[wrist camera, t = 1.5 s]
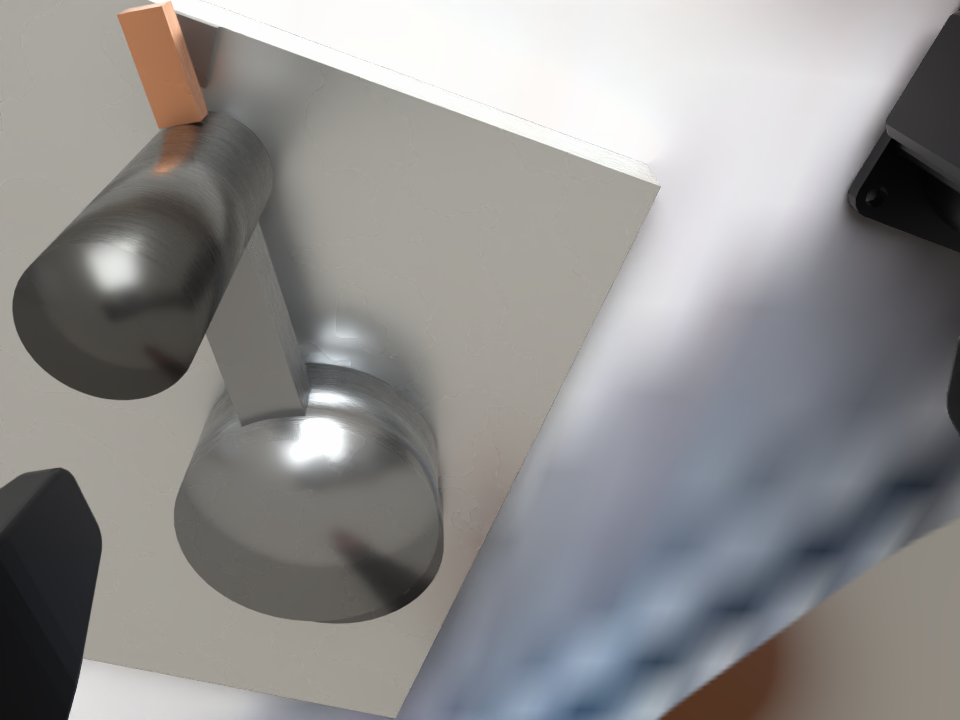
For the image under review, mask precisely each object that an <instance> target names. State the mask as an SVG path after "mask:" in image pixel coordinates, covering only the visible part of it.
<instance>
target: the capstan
mask: <svg viewBox="0 0 960 720" xmlns="http://www.w3.org/2000/svg"><path fill="white" fill-rule="evenodd" d="M117 17H118V19H119V22H120V25H121V28H122V30H123V33H124V36H125V39H126V41H127V44H128V47H129V49H130V52H131V55H132V58H133V60H134V63H135V66H136V68H137V71H138V74H139V77H140V79H141V82H142V85H143V87H144V90H145V93H146V96H147V98H148V101H149V104H150V106H151V109H152V112H153V115H154V117H155V120H156V123H157V125H158V128H159V129H161V128H162V129H161V130H160V131H159V132H158V133H157V134H156V135H155V136H154V137H153V138H152V139H151V140H150V141H149V142H148V144H147V145H146V146H145V147H144V148H143V149H142V150H141V151H140V152H139V153H138V154H137V155H136V156H135V157H134V158H133V159H132V160H131V161H130V162H129V163H128V164H127V165H126V166H125V167H124V168H123V169H122V170H121V171H120V173H119V174H118V175H117V176H116V177H115V178H114V179H113V180H112V181H111V182H110V183H109V184H108V185H107V186H106V187H105V188H104V189H103V190H102V191H101V192H100V193H99V194H98V195H97V196H96V197H95V198H94V199H93V200H92V201H91V203H90V204H89V205H88V206H87V207H86V208H85V209H84V210H83V211H82V212H81V213H80V214H79V215H78V216H77V217H76V218H75V219H74V220H73V221H72V222H71V223H70V224H69V225H68V226H67V227H66V228H65V229H64V230H63V231H62V233H61V234H60V235H59V236H58V237H57V238H56V239H55V240H54V241H53V242H52V243H51V244H50V245H49V246H48V247H47V248H46V249H45V250H44V251H43V252H42V253H41V254H40V255H39V256H38V257H37V258H36V259H35V260H34V261H33V263H32V264H31V265H30V266H29V267H28V268H27V269H26V270H25V271H24V273H23V274H22V276H21V277H20V279H19V281H18V283H17V285H16V288H15V291H14V296H13V301H12V313H13V320H14V324H15V327H16V331H17V333H18V336H19V338H20V340H21V342H22V344H23V345H24V347H25V349H26V350H27V352H28V353H29V354H30V356H31V357H32V358H33V359H34V361H35V362H36V363H37V364H38V365H39V366H40V367H41V368H42V369H43V370H45V371H46V372H47V373H48V374H49V375H51V376H52V377H54V378H55V379H56V380H58V381H59V382H61V383H63V384H65V385H66V386H68V387H70V388H72V389H74V390H77V391H79V392H82V393H84V394H87V395H91V396H94V397H99V398H103V399H111V400H135V399H142V398H146V397H150V396H153V395H156V394H158V393H161V392H163V391H164V390H166V389H168V388H170V387H171V386H172V385H174V384H175V383H177V382H178V381H179V380H180V379H181V378H182V377H183V376H184V374H185V373H186V371H187V370H188V369H189V367H190V365H191V363H192V361H193V359H194V357H195V355H196V353H197V351H198V348H199V346H200V344H201V342H202V340H203V338H204V336H205V334H206V336H207V339H208V342H209V344H210V347H211V349H212V352H213V354H214V357H215V360H216V362H217V365H218V367H219V370H220V372H221V375H222V378H223V380H224V383H225V385H226V388H227V390H228V392H227V393H226V394H225V395H224V396H223V397H222V398H221V399H220V400H219V402H218V403H217V404H216V406H215V407H214V408H213V409H212V411H211V413H210V415H209V417H208V418H207V420H206V423H205V425H204V428H203V430H202V433H201V435H200V438H199V440H198V443H197V445H196V448H195V450H194V453H193V455H192V458H191V460H190V463H189V465H188V468H187V471H186V473H185V476H184V478H183V481H182V483H181V486H180V488H179V491H178V494H177V497H176V501H175V507H174V527H175V532H176V537H177V540H178V543H179V545H180V548H181V550H182V552H183V554H184V556H185V557H186V559H187V561H188V563H189V564H190V565H191V566H192V568H193V569H194V570H195V572H196V573H197V574H198V575H199V576H200V577H201V578H202V579H203V580H204V581H205V582H206V583H207V584H208V585H210V586H211V587H212V588H213V589H215V590H216V591H217V592H219V593H220V594H222V595H223V596H225V597H227V598H228V599H230V600H231V601H233V602H235V603H237V604H240V605H242V606H244V607H246V608H248V609H251V610H254V611H257V612H259V613H262V614H266V615H270V616H274V617H278V618H284V619H290V620H299V621H313V622H319V623H331V624H342V623H355V622H362V621H367V620H372V619H376V618H379V617H382V616H386V615H388V614H390V613H393V612H395V611H397V610H399V609H401V608H403V607H404V606H406V605H408V604H409V603H411V602H412V601H413V600H415V599H416V598H418V597H419V596H420V595H421V594H422V593H423V592H424V591H425V590H426V589H427V588H428V586H429V585H430V584H431V583H432V581H433V580H434V578H435V576H436V574H437V573H438V570H439V568H440V565H441V562H442V558H443V552H444V521H443V504H442V499H441V496H440V493H439V490H438V453H437V447H436V442H435V439H434V436H433V433H432V431H431V429H430V427H429V425H428V423H427V421H426V420H425V418H424V417H423V415H422V414H421V412H420V411H419V410H418V408H417V407H416V406H415V405H414V404H413V403H412V402H411V401H410V400H409V399H408V398H407V397H406V396H404V395H403V394H402V393H401V392H400V391H398V390H397V389H396V388H394V387H392V386H391V385H389V384H388V383H386V382H385V381H383V380H381V379H379V378H377V377H374V376H372V375H370V374H368V373H365V372H362V371H359V370H356V369H353V368H349V367H344V366H340V365H334V364H325V363H304V360H303V357H302V354H301V350H300V347H299V344H298V341H297V338H296V335H295V332H294V329H293V326H292V323H291V320H290V317H289V314H288V310H287V307H286V304H285V301H284V298H283V295H282V292H281V289H280V286H279V283H278V280H277V277H276V273H275V270H274V267H273V264H272V261H271V258H270V255H269V252H268V249H267V246H266V243H265V240H264V237H263V233H262V230H261V227H260V224H259V219H260V217H261V214H262V212H263V210H264V208H265V206H266V204H267V202H268V200H269V197H270V194H271V191H272V187H273V168H272V164H271V160H270V157H269V155H268V152H267V151H266V149H265V147H264V145H263V144H262V142H261V141H260V139H259V138H258V137H257V136H256V135H255V134H254V133H253V132H252V131H251V130H250V129H249V128H248V127H247V126H245V125H244V124H242V123H241V122H239V121H237V120H236V119H234V118H232V117H229V116H227V115H224V114H220V113H217V112H210V111H208V109H207V106H206V103H205V100H204V97H203V94H202V91H201V88H200V85H199V82H198V79H197V76H196V73H195V70H194V67H193V64H192V61H191V58H190V55H189V52H188V49H187V46H186V43H185V40H184V37H183V34H182V31H181V28H180V25H179V22H178V19H177V17H176V14H175V11H174V8H173V5H172V2H171V1H166V2H161V3H155V4H150V5H145V6H140V7H134V8H129V9H126V10H124V11H122V12H121V13H119V14H117Z"/></svg>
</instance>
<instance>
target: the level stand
mask: <svg viewBox="0 0 960 720" xmlns="http://www.w3.org/2000/svg"><path fill="white" fill-rule="evenodd" d="M166 1H171V2H172V5H173V8H174V11H175V14H176V17H177V19H178V22H179V25H180V28H181V31H182V34H183V37H184V40H185V43H186V46H187V49H188V52H189V55H190V58H191V61H192V64H193V67H194V70H195V73H196V76H197V79H198V82H199V85H200V88H201V91H202V94H203V97H204V100H205V103H206V106H207V109H208V111H210V112H217V113H220V114H224V115H227V116H229V117H232V118H234V119H236V120H237V121H239V122H241V123H242V124H244V125H245V126H247V127H248V128H249V129H250V130H251V131H252V132H253V133H254V134H255V135H256V136H257V137H258V138H259V139H260V141H261V142H262V144H263V145H264V147H265V149H266V151H267V152H268V155H269V157H270V160H271V164H272V168H273V187H272V191H271V194H270V197H269V200H268V202H267V204H266V206H265V208H264V210H263V212H262V214H261V217H260V219H259V224H260V227H261V230H262V233H263V237H264V240H265V243H266V246H267V249H268V252H269V255H270V258H271V261H272V264H273V267H274V270H275V273H276V277H277V280H278V283H279V286H280V289H281V292H282V295H283V298H284V301H285V304H286V307H287V310H288V314H289V317H290V320H291V323H292V326H293V329H294V332H295V335H296V338H297V341H298V344H299V347H300V350H301V354H302V357H303V360H304V363H325V364H334V365H340V366H344V367H349V368H353V369H356V370H359V371H362V372H365V373H368V374H370V375H372V376H374V377H377V378H379V379H381V380H383V381H385V382H386V383H388V384H389V385H391V386H392V387H394V388H396V389H397V390H398V391H400V392H401V393H402V394H403V395H404V396H406V397H407V398H408V399H409V400H410V401H411V402H412V403H413V404H414V405H415V406H416V407H417V408H418V410H419V411H420V412H421V414H422V415H423V417H424V418H425V420H426V421H427V423H428V425H429V427H430V429H431V431H432V433H433V436H434V439H435V442H436V447H437V453H438V490H439V493H440V496H441V499H442V504H443V521H444V552H443V558H442V562H441V565H440V568H439V570H438V573H437V574H436V576H435V578H434V580H433V581H432V583H431V584H430V585H429V586H428V588H427V589H426V590H425V591H424V592H423V593H422V594H421V595H420V596H419V597H418V598H416V599H415V600H413V601H412V602H411V603H409V604H408V605H406V606H404V607H403V608H401V609H399V610H397V611H395V612H393V613H390V614H388V615H386V616H382V617H379V618H376V619H372V620H367V621H362V622H355V623H342V624H331V623H319V622H313V621H299V620H290V619H284V618H278V617H274V616H270V615H266V614H262V613H259V612H257V611H254V610H251V609H248V608H246V607H244V606H242V605H240V604H237V603H235V602H233V601H231V600H230V599H228V598H227V597H225V596H223V595H222V594H220V593H219V592H217V591H216V590H215V589H213V588H212V587H211V586H210V585H208V584H207V583H206V582H205V581H204V580H203V579H202V578H201V577H200V576H199V575H198V574H197V573H196V572H195V570H194V569H193V568H192V566H191V565H190V564H189V563H188V561H187V559H186V557H185V556H184V554H183V552H182V550H181V548H180V545H179V543H178V540H177V537H176V532H175V527H174V507H175V501H176V497H177V494H178V491H179V488H180V486H181V483H182V481H183V478H184V476H185V473H186V471H187V468H188V465H189V463H190V460H191V458H192V455H193V453H194V450H195V448H196V445H197V443H198V440H199V438H200V435H201V433H202V430H203V428H204V425H205V423H206V420H207V418H208V417H209V415H210V413H211V411H212V409H213V408H214V407H215V406H216V404H217V403H218V402H219V400H220V399H221V398H222V397H223V396H224V395H225V394H226V393H227V392H228V390H227V388H226V385H225V383H224V380H223V378H222V375H221V372H220V370H219V367H218V365H217V362H216V360H215V357H214V354H213V352H212V349H211V347H210V344H209V342H208V339H207V336H206V334H205V336H204V338H203V340H202V342H201V344H200V346H199V348H198V351H197V353H196V355H195V357H194V359H193V361H192V363H191V365H190V367H189V369H188V370H187V371H186V373H185V374H184V376H183V377H182V378H181V379H180V380H179V381H178V382H177V383H175V384H174V385H172V386H171V387H170V388H168V389H166V390H164V391H163V392H161V393H158V394H156V395H153V396H150V397H146V398H142V399H135V400H111V399H103V398H99V397H94V396H91V395H87V394H84V393H82V392H79V391H77V390H74V389H72V388H70V387H68V386H66V385H65V384H63V383H61V382H59V381H58V380H56V379H55V378H54V377H52V376H51V375H49V374H48V373H47V372H46V371H45V370H43V369H42V368H41V367H40V366H39V365H38V364H37V363H36V362H35V361H34V359H33V358H32V357H31V356H30V354H29V353H28V352H27V350H26V349H25V347H24V345H23V344H22V342H21V340H20V338H19V336H18V333H17V331H16V327H15V324H14V320H13V313H12V301H13V296H14V291H15V288H16V285H17V283H18V281H19V279H20V277H21V276H22V274H23V273H24V271H25V270H26V269H27V268H28V267H29V266H30V265H31V264H32V263H33V261H34V260H35V259H36V258H37V257H38V256H39V255H40V254H41V253H42V252H43V251H44V250H45V249H46V248H47V247H48V246H49V245H50V244H51V243H52V242H53V241H54V240H55V239H56V238H57V237H58V236H59V235H60V234H61V233H62V231H63V230H64V229H65V228H66V227H67V226H68V225H69V224H70V223H71V222H72V221H73V220H74V219H75V218H76V217H77V216H78V215H79V214H80V213H81V212H82V211H83V210H84V209H85V208H86V207H87V206H88V205H89V204H90V203H91V201H92V200H93V199H94V198H95V197H96V196H97V195H98V194H99V193H100V192H101V191H102V190H103V189H104V188H105V187H106V186H107V185H108V184H109V183H110V182H111V181H112V180H113V179H114V178H115V177H116V176H117V175H118V174H119V173H120V171H121V170H122V169H123V168H124V167H125V166H126V165H127V164H128V163H129V162H130V161H131V160H132V159H133V158H134V157H135V156H136V155H137V154H138V153H139V152H140V151H141V150H142V149H143V148H144V147H145V146H146V145H147V144H148V142H149V141H150V140H151V139H152V138H153V137H154V136H155V135H156V134H157V133H158V132H159V131H160V130H161V129H162V128H161V129H159V128H158V125H157V123H156V120H155V117H154V115H153V112H152V109H151V106H150V104H149V101H148V98H147V96H146V93H145V90H144V87H143V85H142V82H141V79H140V77H139V74H138V71H137V68H136V66H135V63H134V60H133V58H132V55H131V52H130V49H129V47H128V44H127V41H126V39H125V36H124V33H123V30H122V28H121V25H120V22H119V19H118V17H117V14H119V13H121V12H122V11H124V10H126V9H129V8H134V7H140V6H145V5H150V4H155V3H161V2H166ZM660 188H661V186H660V184H659V183H658V181H657V180H656V178H655V177H654V175H653V174H652V172H651V171H650V169H649V168H648V166H647V165H646V164H644V163H641V162H639V161H636V160H633V159H631V158H628V157H625V156H622V155H620V154H617V153H614V152H612V151H609V150H606V149H603V148H601V147H598V146H595V145H593V144H590V143H587V142H584V141H582V140H579V139H576V138H574V137H571V136H568V135H565V134H563V133H560V132H557V131H555V130H552V129H549V128H546V127H544V126H541V125H538V124H536V123H533V122H530V121H527V120H525V119H522V118H519V117H516V116H514V115H511V114H508V113H506V112H503V111H500V110H497V109H495V108H492V107H489V106H487V105H484V104H481V103H478V102H476V101H473V100H470V99H468V98H465V97H462V96H459V95H457V94H454V93H451V92H449V91H446V90H443V89H440V88H438V87H435V86H432V85H430V84H427V83H424V82H421V81H419V80H416V79H413V78H411V77H408V76H405V75H402V74H400V73H397V72H394V71H392V70H389V69H386V68H383V67H381V66H378V65H375V64H373V63H370V62H367V61H364V60H362V59H359V58H356V57H354V56H351V55H348V54H345V53H343V52H340V51H337V50H335V49H332V48H329V47H326V46H324V45H321V44H318V43H315V42H313V41H310V40H307V39H305V38H302V37H299V36H296V35H294V34H291V33H288V32H286V31H283V30H280V29H277V28H275V27H272V26H269V25H267V24H264V23H261V22H258V21H256V20H253V19H250V18H248V17H245V16H242V15H239V14H237V13H234V12H231V11H229V10H226V9H223V8H220V7H218V6H215V5H212V4H210V3H207V2H204V1H201V0H0V488H2V487H3V486H5V485H6V484H7V483H9V482H10V481H12V480H13V479H14V478H16V477H17V476H19V475H21V474H23V473H26V472H32V471H38V470H45V469H52V468H64V469H66V470H68V471H69V472H70V473H71V474H72V475H73V476H74V478H75V479H76V481H77V483H78V485H79V487H80V489H81V491H82V493H83V495H84V497H85V499H86V501H87V503H88V505H89V507H90V509H91V511H92V513H93V515H94V517H95V519H96V521H97V523H98V525H99V528H100V531H101V536H102V553H101V559H100V565H99V570H98V576H97V581H96V587H95V593H94V598H93V604H92V609H91V615H90V621H89V626H88V632H87V637H86V643H85V649H84V654H83V658H84V659H89V660H95V661H100V662H105V663H110V664H115V665H121V666H126V667H131V668H136V669H141V670H147V671H152V672H157V673H162V674H167V675H173V676H178V677H183V678H188V679H193V680H198V681H204V682H209V683H214V684H219V685H224V686H230V687H235V688H240V689H245V690H250V691H256V692H261V693H266V694H271V695H276V696H281V697H287V698H292V699H297V700H302V701H307V702H313V703H318V704H323V705H328V706H333V707H339V708H344V709H349V710H354V711H359V712H365V713H370V714H375V715H380V716H385V717H390V718H396V716H397V714H398V712H399V710H400V708H401V706H402V704H403V702H404V700H405V698H406V696H407V694H408V692H409V690H410V688H411V686H412V684H413V682H414V680H415V678H416V676H417V674H418V672H419V670H420V668H421V666H422V664H423V662H424V660H425V658H426V656H427V654H428V652H429V650H430V648H431V646H432V644H433V642H434V640H435V638H436V636H437V634H438V632H439V630H440V628H441V626H442V624H443V622H444V620H445V618H446V616H447V614H448V612H449V610H450V608H451V606H452V604H453V602H454V600H455V598H456V596H457V594H458V592H459V590H460V588H461V586H462V584H463V582H464V580H465V578H466V576H467V574H468V572H469V570H470V568H471V566H472V564H473V562H474V560H475V558H476V556H477V554H478V552H479V550H480V548H481V546H482V544H483V542H484V540H485V538H486V536H487V534H488V532H489V530H490V528H491V526H492V524H493V522H494V520H495V518H496V516H497V514H498V512H499V510H500V508H501V506H502V504H503V502H504V500H505V498H506V496H507V494H508V492H509V490H510V488H511V486H512V484H513V482H514V480H515V478H516V476H517V474H518V472H519V470H520V468H521V466H522V464H523V462H524V460H525V458H526V456H527V454H528V452H529V450H530V448H531V446H532V444H533V442H534V440H535V438H536V436H537V434H538V432H539V430H540V428H541V426H542V424H543V422H544V420H545V418H546V416H547V414H548V412H549V410H550V408H551V406H552V404H553V402H554V400H555V398H556V396H557V394H558V392H559V390H560V388H561V386H562V384H563V382H564V380H565V378H566V376H567V374H568V372H569V370H570V368H571V366H572V364H573V362H574V360H575V358H576V356H577V354H578V352H579V350H580V348H581V346H582V344H583V342H584V340H585V338H586V336H587V334H588V332H589V330H590V328H591V326H592V324H593V322H594V320H595V318H596V316H597V314H598V312H599V310H600V308H601V306H602V304H603V302H604V300H605V298H606V296H607V294H608V292H609V290H610V288H611V286H612V284H613V282H614V280H615V278H616V276H617V274H618V272H619V270H620V268H621V266H622V264H623V262H624V260H625V258H626V256H627V254H628V252H629V250H630V248H631V246H632V244H633V242H634V240H635V238H636V236H637V234H638V232H639V230H640V228H641V226H642V224H643V222H644V220H645V218H646V216H647V214H648V212H649V210H650V208H651V206H652V204H653V202H654V200H655V198H656V196H657V194H658V192H659V190H660Z"/></svg>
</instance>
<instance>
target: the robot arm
mask: <svg viewBox="0 0 960 720" xmlns="http://www.w3.org/2000/svg"><path fill="white" fill-rule="evenodd" d="M876 187H880V192H879V194H878V196H877V197H876V198H875V199H874V200H871V201H869V202H867V201H866V196H867V194H868V193H869V192H870V191H871V190H872V189H873V188H876ZM848 200H849V202H850V204H851V206H852V207H853V208H854V209H855V210H857V211H858V212H859V213H860V214H862V215H863V216H865V217H868V218H870V219H873V220H875V221H878V222H881V223H883V224H886V225H889V226H891V227H894V228H897V229H899V230H902V231H905V232H907V233H910V234H913V235H915V236H918V237H921V238H923V239H926V240H929V241H931V242H934V243H936V244H939V245H942V246H944V247H947V248H950V249H952V250H955V251H958V252H960V9H959V11H958V12H956V13H954V14H952V15H951V16H950V17H949V18H948V20H947V22H946V23H945V25H944V27H943V28H942V30H941V31H940V33H939V35H938V36H937V38H936V40H935V41H934V43H933V45H932V46H931V48H930V49H929V51H928V53H927V54H926V56H925V58H924V59H923V61H922V62H921V64H920V66H919V67H918V69H917V71H916V72H915V74H914V76H913V77H912V79H911V80H910V82H909V84H908V85H907V87H906V89H905V90H904V92H903V93H902V95H901V97H900V98H899V100H898V102H897V103H896V105H895V107H894V108H893V110H892V111H891V113H890V115H889V116H888V118H887V120H886V129H885V131H884V133H883V134H882V136H881V137H880V139H879V141H878V142H877V144H876V146H875V147H874V149H873V150H872V152H871V154H870V155H869V157H868V159H867V160H866V162H865V163H864V165H863V167H862V168H861V170H860V172H859V173H858V175H857V176H856V178H855V180H854V181H853V183H852V185H851V187H850V190H849V192H848ZM947 409H948V414H949V417H950V419H951V421H952V424H953V425H954V427H955V429H956V431H957V432H958V434H959V436H960V337H959V339H958V342H957V345H956V350H955V355H954V360H953V366H952V371H951V376H950V381H949V386H948V392H947ZM101 553H102V536H101V531H100V528H99V525H98V523H97V521H96V519H95V517H94V515H93V513H92V511H91V509H90V507H89V505H88V503H87V501H86V499H85V497H84V495H83V493H82V491H81V489H80V487H79V485H78V483H77V481H76V479H75V478H74V476H73V475H72V474H71V473H70V472H69V471H68V470H66V469H64V468H52V469H45V470H38V471H32V472H26V473H23V474H21V475H19V476H17V477H16V478H14V479H13V480H12V481H10V482H9V483H7V484H6V485H5V486H3V487H2V488H0V720H68V717H69V714H70V710H71V707H72V703H73V699H74V695H75V692H76V688H77V684H78V679H79V674H80V670H81V665H82V660H83V654H84V649H85V643H86V637H87V632H88V626H89V621H90V615H91V609H92V604H93V598H94V593H95V587H96V581H97V576H98V570H99V565H100V559H101Z"/></svg>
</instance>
